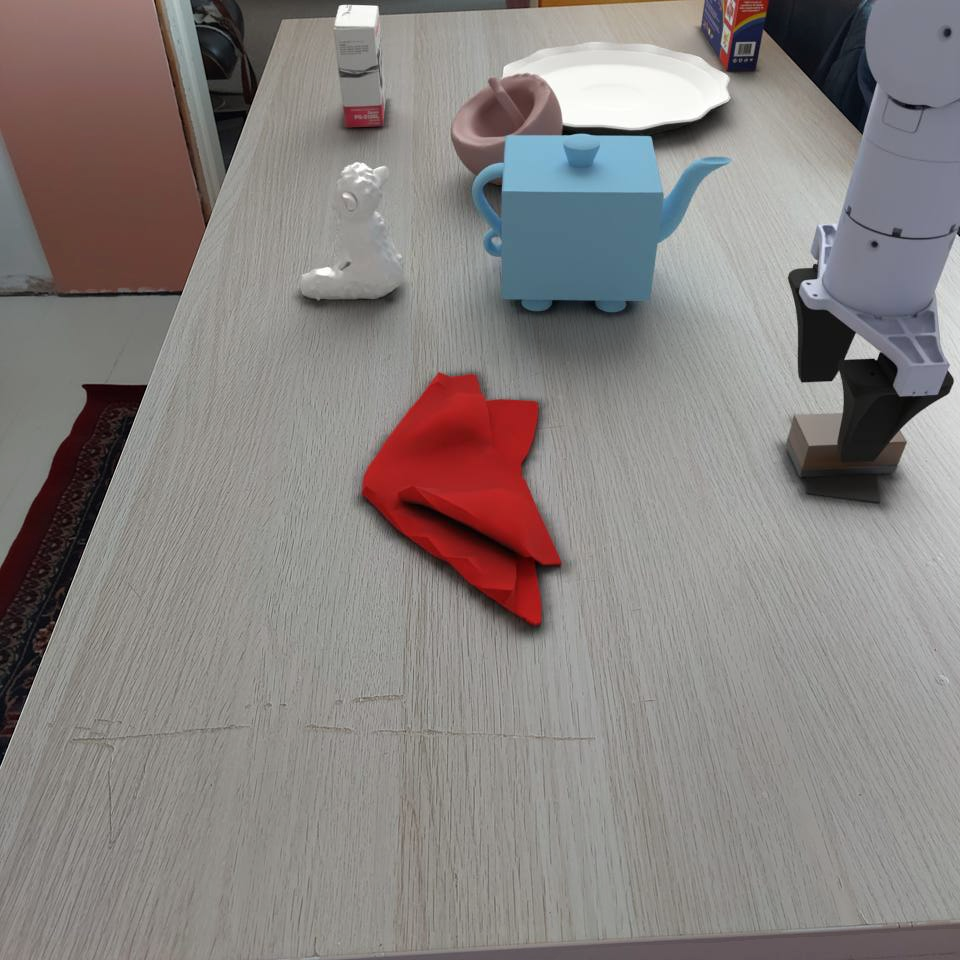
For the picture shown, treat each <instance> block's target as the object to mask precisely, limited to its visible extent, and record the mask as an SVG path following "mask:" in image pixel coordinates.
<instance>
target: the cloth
mask: <svg viewBox="0 0 960 960" xmlns="http://www.w3.org/2000/svg"><path fill="white" fill-rule="evenodd" d="M539 405H540V404H539V402H537V401H536V400H523V399H522V400H521V399H508V398H499V399H498V398H497V399H489V400H487V399H486V396H485V395H484V394H483V393H482V390H481V386H480V383H479V378H478V375H477V374H474V373H469V374H463V375H456V376H450V375H448V374H446V373H444V372H441V371H437V374H436V375H435V376H434V378H433V379H432V380H431V382H430V383H429V384H428V385H427V386H426V388H425V389H424V391H423V393H422V394H421V395H420V397H418V399H417V400H416V401H415V402H414V404H412V406H411V407H410V408H409V409H408V410H407V412H406V413H405V414H404V416H403V417H402V418H401V419H400V421H399V423H398V424H397V425H396V426H395V428H394V429H393V430H392V431H391V433H390V434H389V436H387V438H386V440H385V441H384V443H383V444H382V446H381V447H380V449H379V451H378V452H377V453H376V455H375V456H374V457H373V459H372V460H371V461H370V463H369V465H368V466H367V468H366V470H365V472H364V474H363V478H362V487H361V495H362V496H363V497H364V498H365V499H367V500H368V502H370V503H371V504H372V505H373V506H374V507H375V508H376V510H378V511H379V513H381V515H383V517H384V518H385V519H386V520H387V521H388V522H389V523H390V524H391V525H392V526H393V527H394V528H395V529H397V531H399V532H400V533H401V534H403V535H404V536H406V537H407V538H408V539H410V540H411V541H413V542H414V543H415V544H416V545H417V546H420V547H421V548H422V549H424V550H425V551H427V552H428V553H429V554H431V555H432V556H433V557H435V558H437V559H439V560H440V561H443V562H445V563H447V564H449V565H450V566H452V567H453V569H455V570H456V571H457V572H458V573H459V574H460V576H462V578H464V579H465V580H466V582H467V583H469V584H470V585H471V586H473V587H474V588H476V589H477V590H479V591H480V592H482V593H483V594H485V595H486V596H487V597H489V598H490V599H492V600H493V601H495V602H497V603H498V604H499V605H501V606H502V607H503V608H505V609H507V610H508V611H510V613H512V614H514V615H516V616H518V617H519V618H521V619H522V620H523V621H525V622H527V623H528V624H530V625H531V626H533V627H536V626H538V625H542V599H541V593H540V592H541V591H540V587H539V581H538V580H539V579H538V575H537V570H536V562H537V563H538V564H540V565H541V566H562V564H563V562H562V561H561V558H560V556H559V553H558V551H557V549H556V547H555V545H554V542H553V540H552V537H551V535H550V533H549V530H548V528H547V526H546V524H545V522H544V520H543V518H542V516H541V513H540V512H539V509H538V507H537V505H536V502H535V500H534V497H533V495H532V492H531V490H530V488H529V485H528V483H527V480H526V479H525V478H524V477H523V475H522V472H523V468H522V467H523V466H522V463H523V462H524V460H525V459H526V458H527V456H528V454H529V452H530V450H531V447H532V444H533V442H534V438H535V434H536V429H537V425H538V421H539V419H538V418H539V417H538V416H539ZM535 561H536V562H535Z"/></svg>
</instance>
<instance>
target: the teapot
mask: <svg viewBox="0 0 960 960" xmlns="http://www.w3.org/2000/svg"><path fill="white" fill-rule="evenodd" d="M732 161H733V159H732V158H730V157H725V156H707V157H700V158H699V159H696V160H694V161H693V162H692V163H690V164H689V165H688V166H687V167H686V168H685V169H684V170H683V171H682V173H681V175H680V176H679V178H678V180H677V181H676V184H675V185H674V187H673V188H672V190H671V191H670V193H669V194H668V195H667V196H665V193H664V190H663V185H662V179H661V175H660V170H659V166H658V162H657V156H656V151H655V148H654V143H653V139H652V136H650V135H639V136H596V135H588V134H579V133H574V134H570V135H567V134H566V135H563V134H562V135H508V136H506V137H505V151H504V163H496V164H493V165H490V166H488V167H486V168H485V169H484V170H482V171H481V172H480V173H479V175H478V176H476V177H475V178H474V181H473V184H472V187H471V197H472V200H473V204H474V206H475V208H476V210H477V211H478V213H479V214H480V215H481V217H482V218H483V219H484V220H485V222H486V223H487V224H488V226H489V227H490V228H491V229H489V230H487V231H486V232H485V234H484V236H483V240H482V245H483V248H484V250H485V252H486V253H487V254H488V255H490V256H492V257H495V258H501V300H521V305H522V307H523V308H524V309H526V310H528V311H532V312H542V311H546V310H549V308H551V307H552V305H553V301H594V302H595V303H594V304H595V306H596V307H597V309H599V310H600V311H604V312H606V313H618V312H621V311H623V310H625V308H626V307H627V302H651V295H652V290H653V289H652V288H653V280H654V274H655V273H654V272H655V265H656V258H657V250H658V245H659V244H660V243H662V242H663V241H666V239H668V238H669V237H671V236H672V234H673V233H674V232H675V231H676V230H678V227H679V226H680V224H681V223H682V221H683V219H684V218H685V215H686V213H687V211H688V209H689V206H690V204H691V201H692V199H693V197H694V195H695V193H696V191H697V189H698V187H699V186H700V185H701V183H702V182H703V181H704V179H705V178H706V177H707V176H709V175H710V174H711V173H712V172H714V171H716V170H718V169H720V168H722V167H725V166H726V165H729V164H730V163H731V162H732ZM499 177H503V182H502V185H501V218H500V216H498V214H497V213H496V212H495V211H494V209H493V208H492V207H491V205H490V204H489V202H488V200H487V199H486V197H485V194H484V186H486V184H488V183H489V181H490V180H492V179H495V178H499ZM497 237H498V238H499V240H500V241H501V243H495V242H493V241H492V239H494V238H497Z"/></svg>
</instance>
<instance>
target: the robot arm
mask: <svg viewBox="0 0 960 960" xmlns="http://www.w3.org/2000/svg"><path fill="white" fill-rule="evenodd" d="M864 39H865V40H864V42H865V43H864V44H865V45H864V46H865V56H866V61H867V64H868V68H869V70H870V72H871V75H872V77H873V78H874V81H876V86H875V89H874V92H873V96H872V100H871V103H870V106H869V111H868V114H867V118H866V121H865V124H864V128H863V133H862V137H861V140H860V144H859V147H858V149H857V150H858V151H857V154H856V158H855V161H854V166H853V169H852V172H851V176H850V180H849V183H848V186H847V190H846V194H845V197H844V202H843V205H842V207H841V208H842V209H841V212H840V215H839V219H838V223H819V224H816V228H815V232H814V236H813V239H812V244H811V248H810V250H809V251H810V252H809V253H810V254H811V256H812V258H814V260H815V261H816V263H813V265H812V267H802V268H801V267H800V268H794V269H792V270H790V271H789V273H788V276H787V281H788V284H789V287H790V291H791V294H792V297H793V302H794V306H795V313H796V324H797V375H798V379H799V380H800V381H799V382H800V383H801V384H802V383H803V384H804V383H805V384H806V383H824V382H833V381H834V380H835V378H836V376H837V375H838V373H839V375H840V379H841V384H842V391H843V393H842V395H843V403H842V404H843V406H842V413H843V415H842V421H841V426H840V430H839V435H838V442H837V453H838V457H839V459H840V461H841V462H843V463H851V462H873V461H874V460H875V459H876V458H877V457H878V456H879V455H880V453H881V452H882V451H883V450H884V448H885V447H886V446H887V445H888V443H889V442H890V441H891V440H892V439H893V437H894V436H895V435H896V434H897V433H898V432H899V430H900V431H901V430H902V428H904V427H905V425H907V423H909V422H910V421H911V420H912V419H913V418H914V417H915V416H917V415H918V414H919V413H921V412H923V410H925V409H927V408H928V407H929V406H931V405H932V404H934V403H936V402H938V401H939V400H942V399H943V398H944V397H946V396H947V395H950V393H951V391H952V388H953V385H954V383H955V378H954V376H953V375H952V374H951V372H950V370H949V368H950V367H951V364H950V362H949V361H948V359H947V357H946V356H945V354H944V352H943V348H942V344H941V335H940V333H941V332H940V323H939V314H938V313H939V312H938V303H937V301H938V300H937V295H936V290H937V287H938V284H939V281H940V280H941V276H942V273H943V271H944V269H945V265H946V263H947V261H948V258H949V255H950V252H951V250H952V247H953V244H954V241H955V240H956V236H957V234H958V232H959V228H960V0H875V3H874V4H873V6H872V9H871V11H870V14H869V17H868V20H867V25H866V30H865V38H864ZM856 335H859V336H860V337H861V338H862V339H864V340H865V341H866V342H867V343H869V344H870V345H871V346H872V347H874V348H875V349H876V350H878V351H879V353H878V356H877V358H876V359H875V358H852V359H850V358H849V359H846V357H847V354H848V352H849V350H850V347H851V345H852V342H853V340H854V338H855V336H856Z"/></svg>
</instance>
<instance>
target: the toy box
mask: <svg viewBox="0 0 960 960" xmlns="http://www.w3.org/2000/svg"><path fill="white" fill-rule="evenodd" d="M769 3H770V0H704V3H703V10H702V17H701V22H700V24H701V25H700V29H701V31H702V32H703V34H704V36H705V37H706V39H707V41H708V42H709V44H710V45H711V47H712V49H713V50H714V53H715V54H716V55H717V58H719V60H720V62H721V64H722V66H723V67H724V68H725V70H726V72H734V71H735V72H738V71H757V67H758V65H757V64H758V61H759V54H760V51H761V44H762V39H763V35H764V29H765V22H766V17H767V11H768V6H769Z"/></svg>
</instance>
